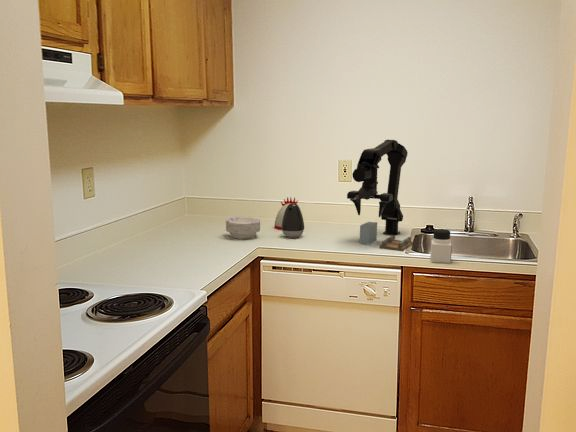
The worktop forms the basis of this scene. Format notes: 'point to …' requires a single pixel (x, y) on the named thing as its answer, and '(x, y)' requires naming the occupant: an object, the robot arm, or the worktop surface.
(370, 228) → the blue grey block
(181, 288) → the worktop surface
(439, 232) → the medicine bottle
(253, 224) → the grey stone bowl
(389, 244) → the track board
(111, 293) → the worktop surface
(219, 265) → the worktop surface
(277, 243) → the worktop surface
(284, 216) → the black grey egg shape
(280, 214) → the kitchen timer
